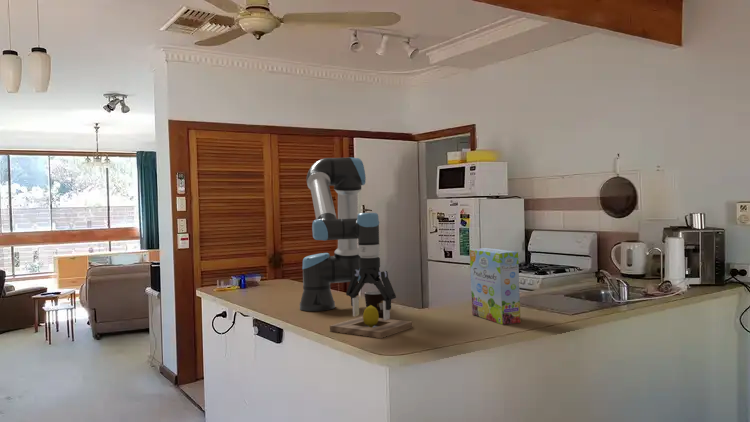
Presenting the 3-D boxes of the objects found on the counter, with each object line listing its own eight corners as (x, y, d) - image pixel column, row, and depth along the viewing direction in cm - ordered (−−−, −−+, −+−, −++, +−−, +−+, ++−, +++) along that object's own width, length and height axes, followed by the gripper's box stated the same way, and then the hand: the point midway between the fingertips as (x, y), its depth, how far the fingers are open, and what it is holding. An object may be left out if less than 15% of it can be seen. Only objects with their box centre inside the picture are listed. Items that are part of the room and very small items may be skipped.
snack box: (469, 315, 218) (467, 248, 218) (489, 313, 221) (487, 247, 221) (501, 325, 198) (499, 252, 198) (522, 323, 201) (520, 250, 201)
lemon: (378, 327, 201) (378, 304, 202) (379, 328, 196) (378, 305, 197) (362, 327, 201) (362, 304, 202) (363, 328, 196) (363, 305, 197)
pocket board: (329, 331, 197) (329, 325, 197) (363, 321, 212) (363, 316, 212) (380, 338, 184) (380, 332, 184) (412, 327, 199) (412, 321, 199)
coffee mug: (368, 321, 212) (367, 295, 212) (362, 317, 220) (361, 291, 220) (397, 319, 215) (397, 292, 215) (391, 315, 223) (390, 289, 223)
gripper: (335, 256, 202) (337, 316, 203) (392, 258, 188) (394, 322, 188) (348, 254, 209) (350, 312, 209) (404, 256, 194) (406, 318, 194)
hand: (371, 317), depth 198 cm, fingers open, 13 cm apart
